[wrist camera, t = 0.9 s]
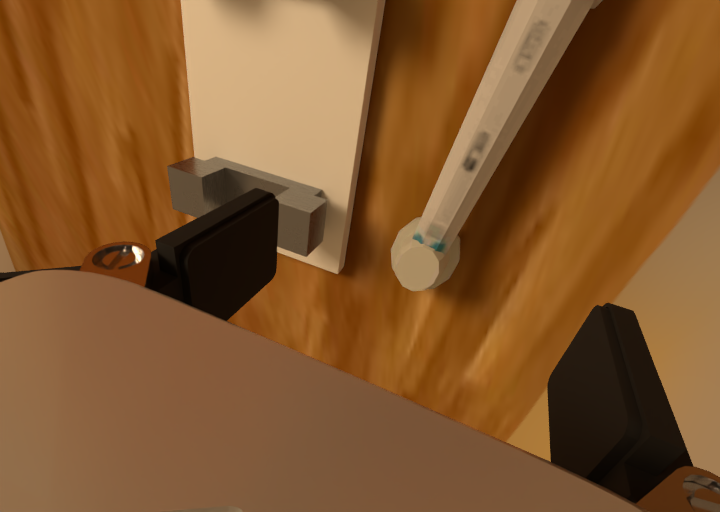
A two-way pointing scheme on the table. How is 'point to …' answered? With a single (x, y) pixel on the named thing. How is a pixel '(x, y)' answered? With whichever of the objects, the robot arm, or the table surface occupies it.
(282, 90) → the stand board
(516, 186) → the table surface
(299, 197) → the v blocks
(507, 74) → the white handheld device
